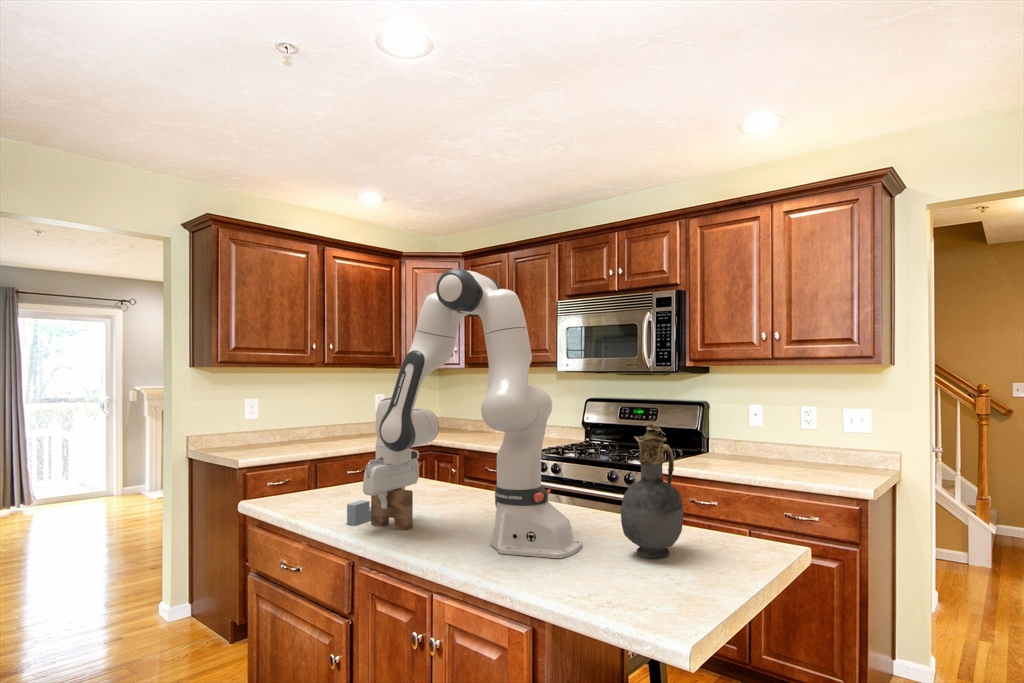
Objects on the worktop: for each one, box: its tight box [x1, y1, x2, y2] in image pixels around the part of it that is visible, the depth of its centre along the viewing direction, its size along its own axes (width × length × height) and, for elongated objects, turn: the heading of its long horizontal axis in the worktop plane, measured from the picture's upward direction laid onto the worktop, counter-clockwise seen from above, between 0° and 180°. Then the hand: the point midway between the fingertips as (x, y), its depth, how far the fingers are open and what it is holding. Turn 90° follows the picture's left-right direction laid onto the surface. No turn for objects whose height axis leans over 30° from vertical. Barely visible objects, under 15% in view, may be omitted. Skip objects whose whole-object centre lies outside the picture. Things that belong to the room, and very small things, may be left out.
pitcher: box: [620, 423, 684, 560], centre depth 141 cm, size 11×19×30 cm, turn 141°
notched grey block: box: [346, 499, 371, 526], centre depth 174 cm, size 3×16×6 cm, turn 153°
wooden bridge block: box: [370, 489, 414, 531], centre depth 165 cm, size 12×3×10 cm, turn 63°
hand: (391, 505), depth 165 cm, fingers open, 4 cm apart
